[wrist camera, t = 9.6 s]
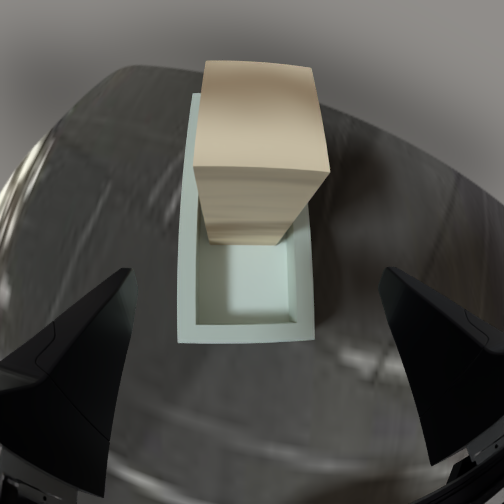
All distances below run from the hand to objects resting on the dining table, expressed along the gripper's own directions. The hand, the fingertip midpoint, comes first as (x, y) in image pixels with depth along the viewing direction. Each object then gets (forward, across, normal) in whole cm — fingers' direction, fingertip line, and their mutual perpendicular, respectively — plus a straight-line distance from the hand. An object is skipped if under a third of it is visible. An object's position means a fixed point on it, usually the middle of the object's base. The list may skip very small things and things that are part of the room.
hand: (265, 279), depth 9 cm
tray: (+14, 0, +4) cm, 14 cm away
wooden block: (+13, 0, +3) cm, 13 cm away
